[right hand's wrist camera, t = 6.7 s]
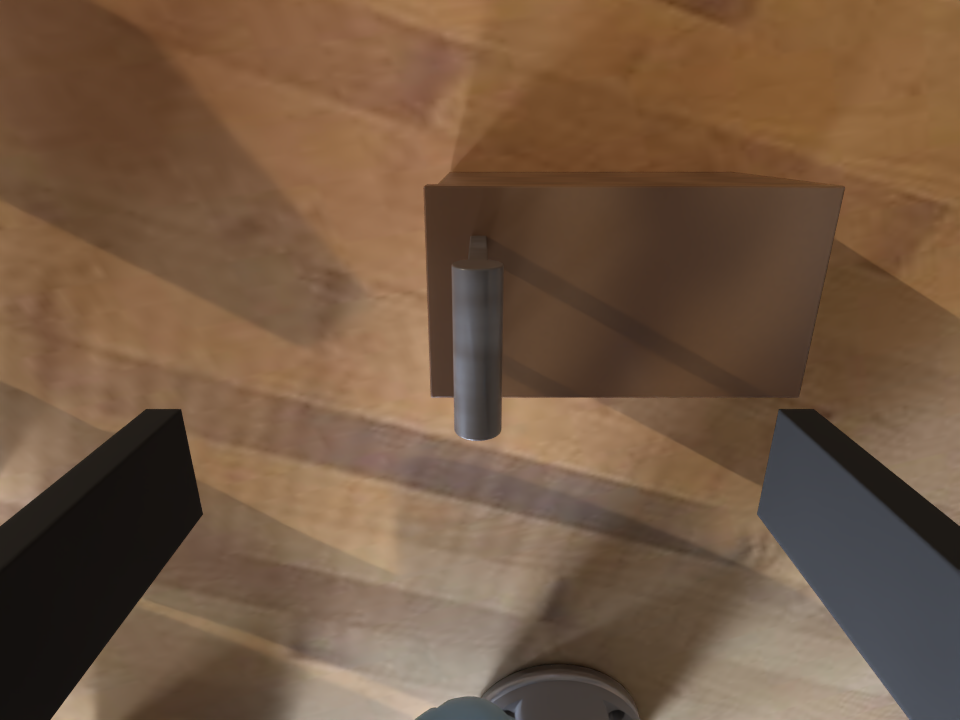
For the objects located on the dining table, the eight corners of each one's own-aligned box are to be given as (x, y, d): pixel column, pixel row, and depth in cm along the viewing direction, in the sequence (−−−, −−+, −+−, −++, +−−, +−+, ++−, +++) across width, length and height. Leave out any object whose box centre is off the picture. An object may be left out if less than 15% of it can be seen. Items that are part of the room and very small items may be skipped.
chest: (451, 325, 38) (442, 388, 29) (449, 172, 35) (436, 184, 25) (708, 325, 38) (787, 388, 29) (732, 171, 35) (830, 184, 25)
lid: (432, 388, 29) (412, 488, 20) (425, 184, 25) (398, 205, 17) (787, 388, 29) (911, 488, 20) (830, 184, 25) (1002, 205, 17)
